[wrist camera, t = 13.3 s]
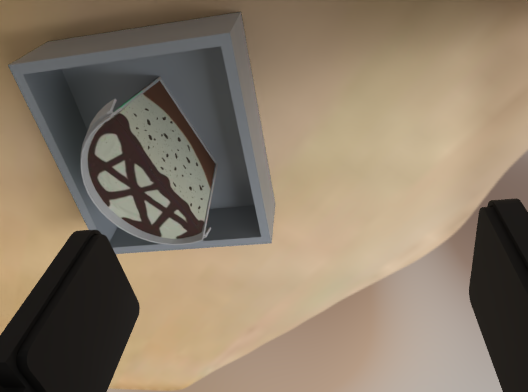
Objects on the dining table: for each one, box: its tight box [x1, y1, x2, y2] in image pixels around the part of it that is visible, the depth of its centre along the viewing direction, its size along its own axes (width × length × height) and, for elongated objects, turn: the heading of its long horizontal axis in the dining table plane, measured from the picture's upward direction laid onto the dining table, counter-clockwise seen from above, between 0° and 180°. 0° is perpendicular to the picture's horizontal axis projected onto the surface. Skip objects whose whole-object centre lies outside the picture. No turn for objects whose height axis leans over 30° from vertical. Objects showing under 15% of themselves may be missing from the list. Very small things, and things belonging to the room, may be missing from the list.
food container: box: [81, 77, 218, 245], centre depth 36 cm, size 12×6×10 cm, turn 28°
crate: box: [8, 12, 275, 254], centre depth 38 cm, size 17×19×6 cm
